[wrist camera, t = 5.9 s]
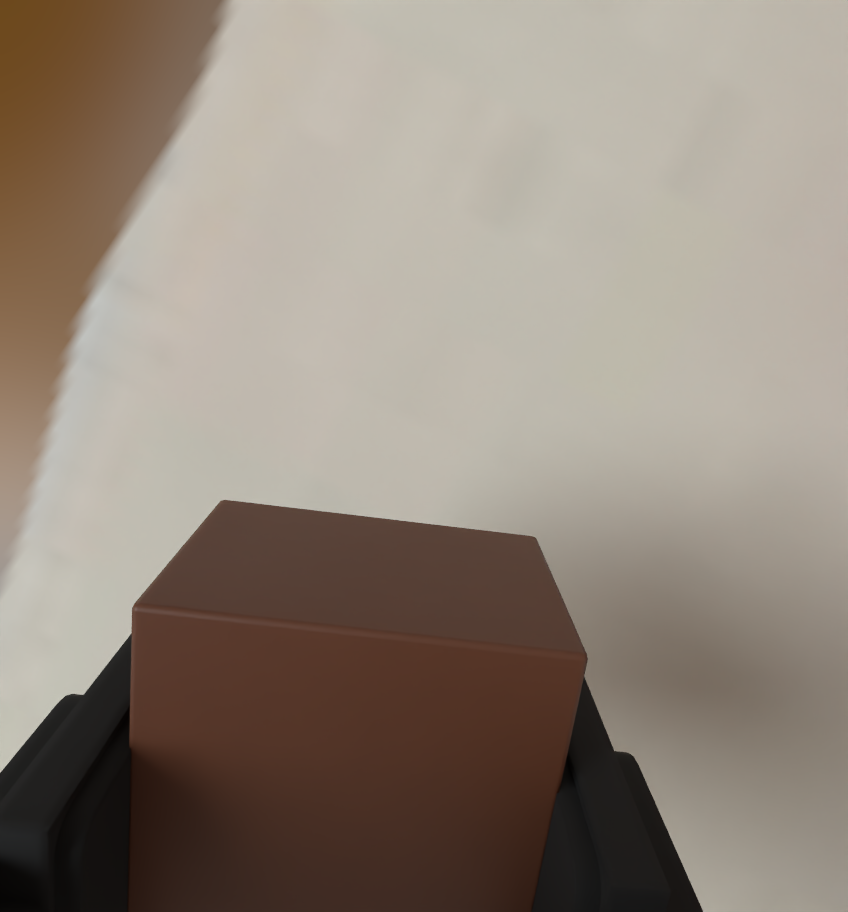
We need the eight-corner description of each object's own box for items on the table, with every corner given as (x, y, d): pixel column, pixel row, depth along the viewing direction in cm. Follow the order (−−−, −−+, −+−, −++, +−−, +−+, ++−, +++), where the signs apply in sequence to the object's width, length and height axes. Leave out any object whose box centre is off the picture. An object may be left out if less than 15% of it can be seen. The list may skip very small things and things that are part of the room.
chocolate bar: (220, 497, 9) (129, 605, 6) (537, 535, 9) (591, 656, 6) (199, 867, 11) (119, 1089, 8) (471, 893, 11) (490, 1120, 8)
